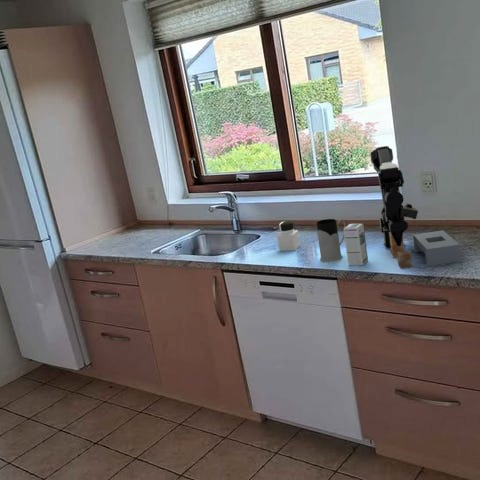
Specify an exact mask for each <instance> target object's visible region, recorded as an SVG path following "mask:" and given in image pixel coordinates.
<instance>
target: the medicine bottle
mask: <svg viewBox="0 0 480 480" xmlns="http://www.w3.org/2000/svg"><path fill="white" fill-rule="evenodd" d="M278 226H279V233H278V234H277V236H276V237H277V244H278V250H279V251H280V252H294V251H296V250H297V249H298V248H299V247H301V244H300V243H301V242H300V237H299V231H298V230H297V229H295V227H294V222H293V221H292V220H285V221H281V222H280V223H279V224H278Z"/></svg>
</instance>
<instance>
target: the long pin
mask: <svg viewBox="0 0 480 480" xmlns="http://www.w3.org/2000/svg"><path fill="white" fill-rule="evenodd" d="M389 236H390V245H391V248H390V253H391V256H392V258H393V259H396V258H397V259H398V256H397V252H401V251H405V248H404V236H402V241H401V246H397V244H396V242H395V240H394V238H393V236H392V234H391V232H389Z"/></svg>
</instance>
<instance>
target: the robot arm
mask: <svg viewBox="0 0 480 480" xmlns="http://www.w3.org/2000/svg"><path fill="white" fill-rule="evenodd" d="M393 160H394V153H393V149H392V148H390V146H389V145H381V146H376V147H375V149H373V150H372V151H371V152H370V163H371V164H372V166H373V169H374V170H375V172H376V173H377V175H378V176H377V177H378V183H379V188H380V192H381V199H382V205H383V207H382V209H381V211H380V212H381V213H380V217H379V228H380V232H381V234H382V233H383V240H384V242H383V245H384V246H385V248H386V249H389V248H390V249H391V245H390V236H389V232H391V234H392V236H393V238H394V240H395V242H396V244H397V246H401V241H402V236H403V235H404V232H405V231H407V230H408V229H409V222H407V220H405V218H409V219H413V220H416V219H417V217H418V213H419V210H418V209H417V208H415V207H413V206H412V205H413V204H411V203H406V204H405V205H403V203H404V196H403V194H402V193H401V191H400V188H401V187H404V184H405V180H404V175H403V172H402V171H401V168H399V167H398V165H397V164H396V163H393ZM403 237H404V236H403Z"/></svg>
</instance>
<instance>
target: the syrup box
mask: <svg viewBox="0 0 480 480" xmlns="http://www.w3.org/2000/svg"><path fill="white" fill-rule="evenodd" d="M343 235H344V243H345V249H346V255H347V263H348V265H349V266H364V265H365V264H366V263H367V262H368V261H369V257H368V256H369V255H368V251H367V250H368V249H367V242H366V236H365V235H366V233H365V227H364V223H356V222H355V223H348V225H346V227H345V228H344V227H343Z"/></svg>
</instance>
